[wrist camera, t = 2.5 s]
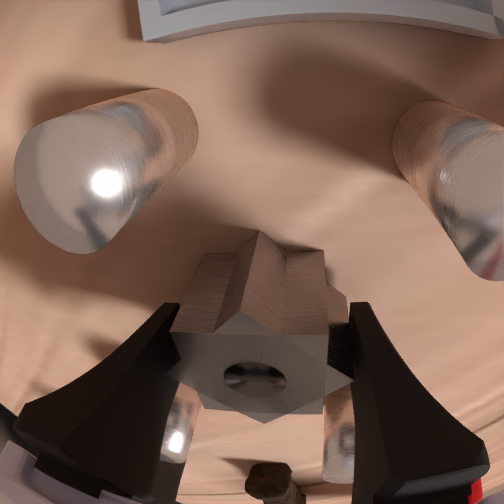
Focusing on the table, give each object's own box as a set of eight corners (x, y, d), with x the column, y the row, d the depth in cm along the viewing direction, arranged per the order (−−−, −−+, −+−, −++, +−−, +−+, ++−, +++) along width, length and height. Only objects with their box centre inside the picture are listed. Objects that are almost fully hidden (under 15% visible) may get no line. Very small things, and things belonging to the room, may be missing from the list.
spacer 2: (200, 362, 16) (174, 445, 12) (212, 392, 18) (192, 467, 13) (150, 357, 16) (117, 432, 12) (166, 387, 18) (142, 456, 14)
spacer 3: (381, 379, 15) (389, 464, 11) (372, 406, 17) (376, 481, 12) (325, 382, 16) (324, 468, 11) (323, 408, 17) (320, 484, 13)
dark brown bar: (247, 458, 24) (239, 503, 20) (292, 459, 23) (286, 506, 19) (282, 500, 34) (278, 528, 30) (311, 500, 33) (308, 528, 29)
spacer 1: (190, 80, 9) (97, 101, 4) (206, 168, 10) (139, 251, 6) (109, 100, 9) (0, 142, 5) (128, 179, 11) (41, 255, 7)
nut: (349, 227, 11) (367, 308, 7) (341, 347, 14) (344, 424, 11) (176, 234, 12) (131, 306, 8) (210, 346, 15) (189, 416, 12)
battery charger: (118, 420, 23) (77, 527, 14) (152, 425, 22) (111, 544, 13) (158, 453, 27) (128, 546, 17) (189, 457, 26) (162, 557, 16)
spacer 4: (474, 105, 7) (577, 152, 3) (467, 189, 9) (544, 276, 5) (391, 97, 8) (470, 134, 4) (390, 188, 10) (444, 285, 5)
